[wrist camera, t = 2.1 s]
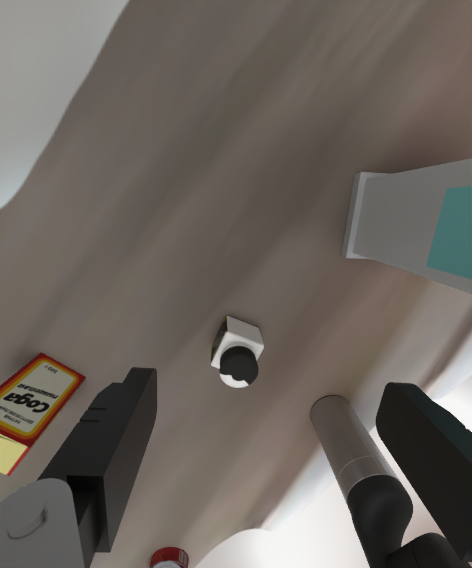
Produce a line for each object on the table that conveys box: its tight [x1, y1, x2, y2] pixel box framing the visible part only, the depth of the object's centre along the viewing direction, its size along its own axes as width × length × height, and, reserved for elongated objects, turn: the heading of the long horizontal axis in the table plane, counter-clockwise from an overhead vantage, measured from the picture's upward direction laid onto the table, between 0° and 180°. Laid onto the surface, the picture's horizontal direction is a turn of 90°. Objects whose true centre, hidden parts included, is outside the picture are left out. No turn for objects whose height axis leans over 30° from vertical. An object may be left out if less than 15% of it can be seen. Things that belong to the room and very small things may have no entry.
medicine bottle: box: [211, 316, 264, 388], centre depth 44 cm, size 7×7×12 cm
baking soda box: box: [0, 353, 86, 476], centre depth 43 cm, size 10×6×16 cm
